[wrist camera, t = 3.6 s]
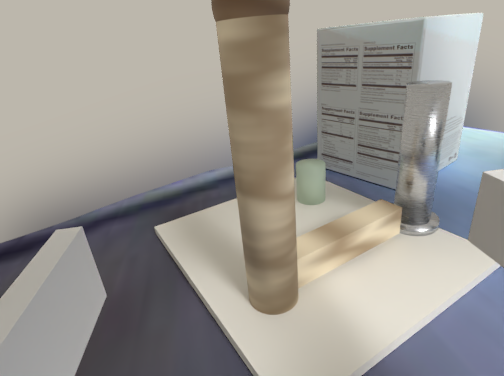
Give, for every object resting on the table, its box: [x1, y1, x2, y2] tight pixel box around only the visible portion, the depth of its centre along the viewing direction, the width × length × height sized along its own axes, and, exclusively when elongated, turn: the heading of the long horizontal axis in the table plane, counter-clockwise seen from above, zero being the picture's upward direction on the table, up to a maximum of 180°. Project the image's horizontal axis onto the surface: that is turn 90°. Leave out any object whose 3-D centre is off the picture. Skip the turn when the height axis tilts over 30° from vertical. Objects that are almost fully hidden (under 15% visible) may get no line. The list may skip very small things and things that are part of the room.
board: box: [154, 178, 501, 376], centre depth 28 cm, size 20×22×1 cm
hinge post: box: [394, 80, 452, 236], centre depth 27 cm, size 4×4×12 cm
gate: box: [212, 0, 402, 315], centre depth 21 cm, size 14×4×19 cm, turn 122°
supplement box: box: [317, 13, 483, 190], centre depth 41 cm, size 13×13×18 cm
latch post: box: [296, 159, 326, 205], centre depth 34 cm, size 3×3×4 cm
